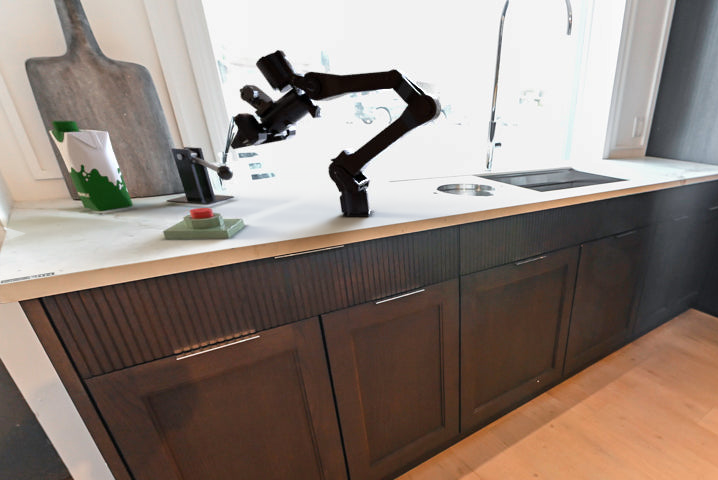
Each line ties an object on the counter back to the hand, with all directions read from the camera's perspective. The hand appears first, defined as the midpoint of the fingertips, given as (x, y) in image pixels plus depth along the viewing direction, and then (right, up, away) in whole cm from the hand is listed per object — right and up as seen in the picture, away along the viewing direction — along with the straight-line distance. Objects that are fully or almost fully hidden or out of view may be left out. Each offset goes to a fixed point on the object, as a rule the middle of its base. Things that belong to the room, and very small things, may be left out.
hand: (243, 145), depth 105 cm
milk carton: (-34, -16, +1) cm, 37 cm away
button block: (0, -25, -12) cm, 27 cm away
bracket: (-18, -11, +12) cm, 24 cm away
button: (0, -22, -14) cm, 26 cm away
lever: (-14, -4, +7) cm, 16 cm away
